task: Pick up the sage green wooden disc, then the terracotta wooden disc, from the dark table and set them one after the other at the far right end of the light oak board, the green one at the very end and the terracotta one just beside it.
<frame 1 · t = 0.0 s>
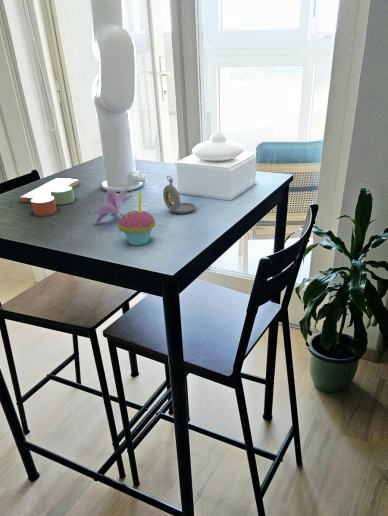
cupcake: (139, 242, 114), on the table
board: (51, 192, 149), on the table
butter dish: (217, 188, 146), on the table
terracotta disc: (45, 211, 134), on the table
sage disc: (63, 201, 141), on the table
lily: (116, 223, 125), on the table
pocket watch: (179, 212, 130), on the table
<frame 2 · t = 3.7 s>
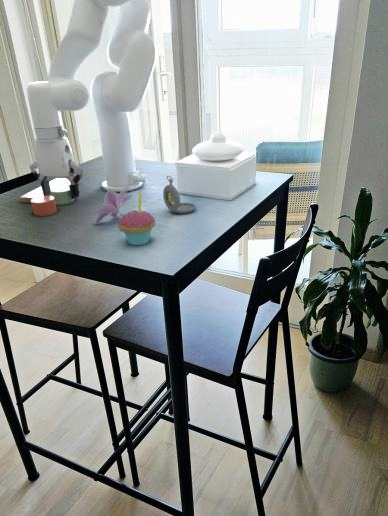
hand: (61, 196, 140), 1 cm above the table, tool pointing down, fingers open, 9 cm apart
nothing on the table moved.
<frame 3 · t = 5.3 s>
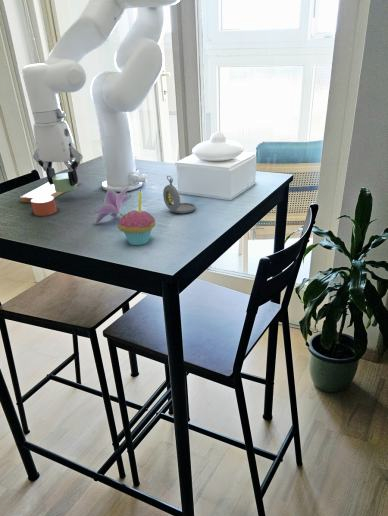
hand: (63, 183, 139), 5 cm above the table, tool pointing down, fingers closed on sage disc, 6 cm apart
sage disc: (66, 188, 141), point 3 cm above the table, touching gripper
everything else where it was.
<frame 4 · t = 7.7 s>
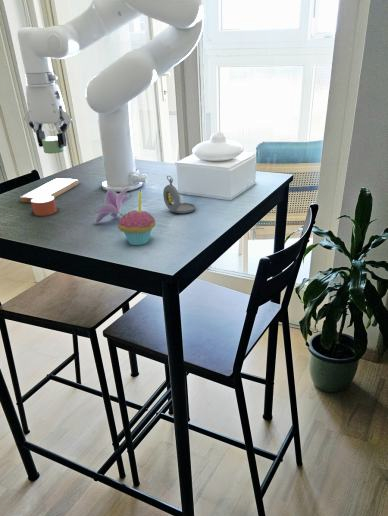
hand: (52, 145, 146), 13 cm above the table, tool pointing down, fingers closed on sage disc, 6 cm apart
sage disc: (54, 150, 147), point 11 cm above the table, touching gripper
everything else where it was.
when the fingers open (3 cm above the table, at t = 10.3 s): sage disc stays where it is, resting on board.
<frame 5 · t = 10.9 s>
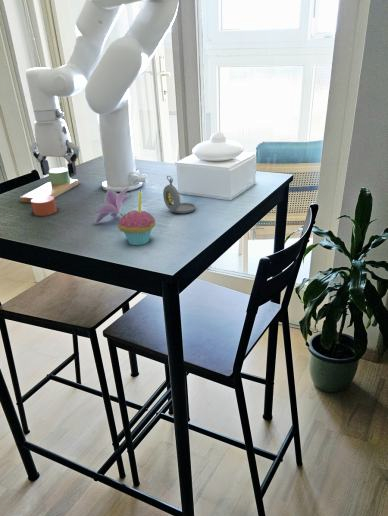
hand: (59, 175, 151), 4 cm above the table, tool pointing down, fingers open, 9 cm apart
sage disc: (60, 181, 153), point 1 cm above the table, touching board
everything else where it was.
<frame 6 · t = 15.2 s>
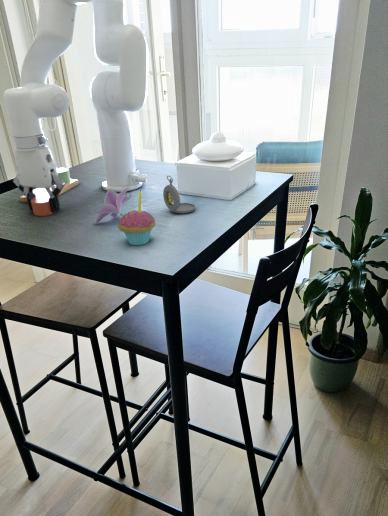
hand: (44, 209, 134), 1 cm above the table, tool pointing down, fingers closed on terracotta disc, 6 cm apart
terracotta disc: (45, 211, 134), on the table, touching gripper
everything else where it was.
when the fingers open (2 cm above the table, at t = 21.8 s): terracotta disc stays where it is, resting on board.
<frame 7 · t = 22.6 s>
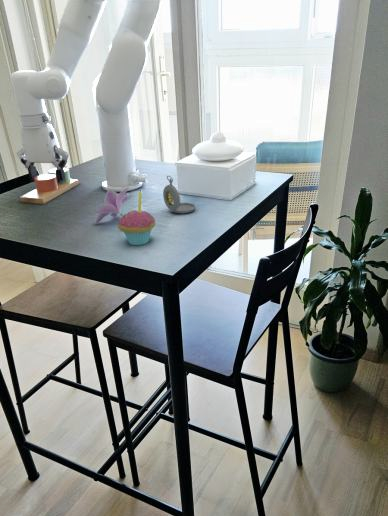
hand: (48, 181, 146), 4 cm above the table, tool pointing down, fingers open, 9 cm apart
terracotta disc: (47, 188, 147), point 1 cm above the table, touching board
everything else where it was.
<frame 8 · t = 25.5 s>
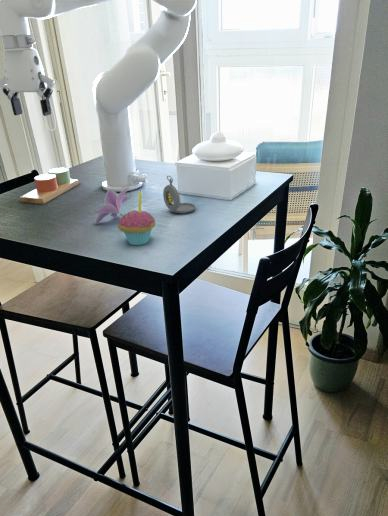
hand: (32, 114, 136), 22 cm above the table, tool pointing down, fingers open, 9 cm apart
nothing on the table moved.
at the end: sage disc inside the target area on the board (0.3 cm from its centre), point 1.5 cm above the board's base; terracotta disc inside the target area on the board (4.9 cm from its centre), point 1.5 cm above the board's base; terracotta disc tilted 0° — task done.
